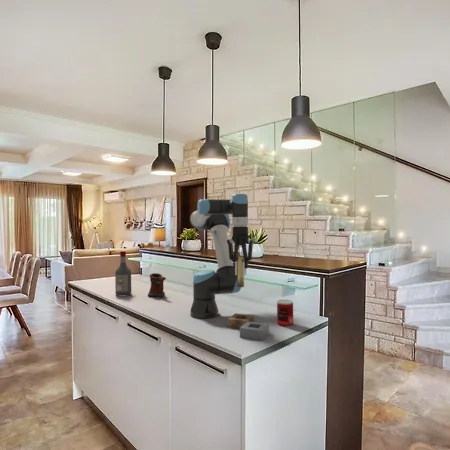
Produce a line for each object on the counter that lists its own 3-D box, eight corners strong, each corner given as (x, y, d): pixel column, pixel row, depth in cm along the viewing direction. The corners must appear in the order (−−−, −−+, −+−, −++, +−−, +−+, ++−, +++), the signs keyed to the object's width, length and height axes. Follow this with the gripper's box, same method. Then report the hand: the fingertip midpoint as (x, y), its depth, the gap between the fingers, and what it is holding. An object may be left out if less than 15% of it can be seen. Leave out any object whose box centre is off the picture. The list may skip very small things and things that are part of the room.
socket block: (239, 337, 141) (239, 327, 141) (247, 329, 150) (247, 321, 150) (262, 340, 137) (262, 330, 137) (268, 332, 146) (268, 323, 146)
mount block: (227, 327, 154) (227, 318, 154) (235, 321, 163) (235, 313, 163) (247, 329, 150) (247, 321, 150) (254, 323, 159) (254, 315, 159)
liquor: (126, 296, 221) (126, 252, 221) (114, 295, 223) (113, 252, 222) (132, 293, 230) (131, 250, 230) (120, 292, 232) (119, 250, 231)
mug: (172, 297, 215) (172, 275, 215) (156, 300, 208) (156, 277, 208) (160, 293, 229) (160, 272, 229) (144, 295, 222) (144, 273, 222)
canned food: (291, 321, 162) (290, 299, 162) (295, 326, 154) (294, 303, 154) (275, 321, 162) (275, 299, 162) (279, 326, 154) (278, 303, 154)
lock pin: (236, 286, 155) (236, 257, 155) (238, 285, 158) (238, 256, 158) (242, 287, 154) (242, 257, 154) (245, 286, 157) (244, 257, 157)
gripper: (221, 226, 156) (222, 275, 156) (253, 226, 149) (254, 277, 150) (227, 226, 163) (228, 272, 163) (258, 225, 156) (259, 274, 156)
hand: (240, 274), depth 156 cm, fingers closed on lock pin, 3 cm apart
